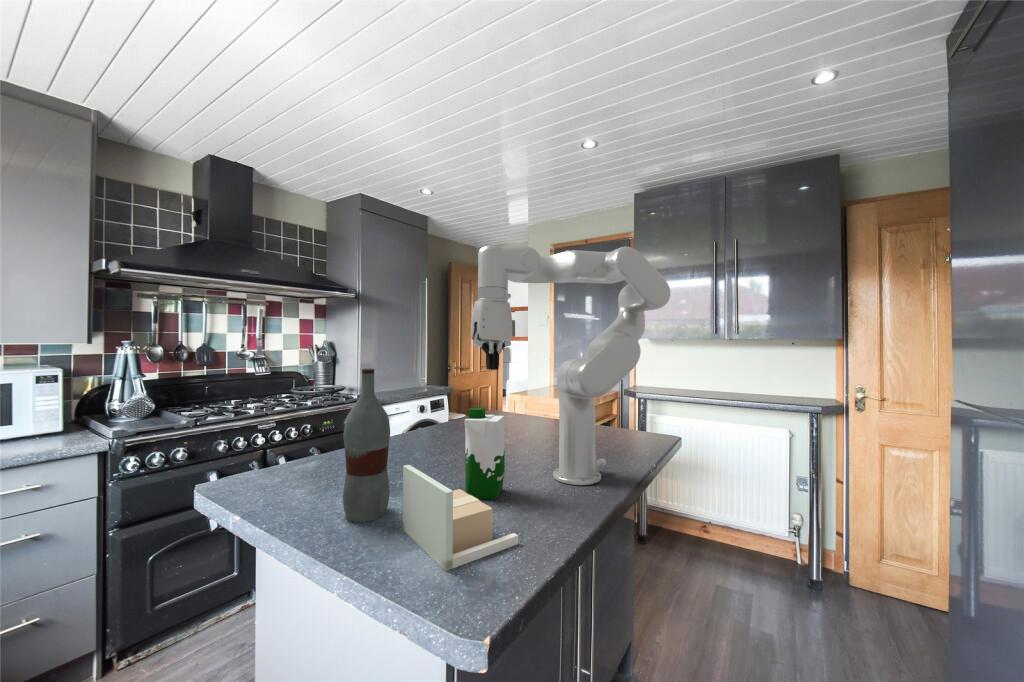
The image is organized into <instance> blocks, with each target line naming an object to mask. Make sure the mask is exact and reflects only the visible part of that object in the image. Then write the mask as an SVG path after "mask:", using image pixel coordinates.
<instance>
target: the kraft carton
mask: <svg viewBox="0 0 1024 682" xmlns="http://www.w3.org/2000/svg"><path fill="white" fill-rule="evenodd" d="M452 491H453V554H455V553H458V552H461V551H464V550H467V549H469V548H472V547H475V546H478V545H481V544H484V543H487V542H489V541H492V540H493V525H494V524H493V520H494V519H493V515H494V514H493V513H494V512H493V507H491V506H489V505H487V504H485V503H484V502H482V501H481V499H479V498H475V497H473V496H472V495H469V494H467V493H466V491H464V490H462V489H460V488H459V489H454V490H452Z"/></svg>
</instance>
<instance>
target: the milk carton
mask: <svg viewBox="0 0 1024 682" xmlns="http://www.w3.org/2000/svg"><path fill="white" fill-rule="evenodd" d="M467 410H468V411H467V413H468V414H467V415H468V416H467V418H466V417H465V419H464V430H465V431H464V433H465V448H464V449H465V452H464V453H465V457H464V458H465V459H464V462H465V465H464V468H465V469H464V472H465V473H464V475H465V477H464V479H465V492H466V493H467V494H469V495H472V496H473V497H475V498H477V499H478V500H490V501H491V500H493V501H496V500H497V498H498V496H499V495H500V494H501V492H502V491H503V489H504V488H503V487H504V480H505V471H506V470H505V467H506V466H505V465H506V463H505V462H506V461H505V460H506V459H505V457H506V456H505V455H506V454H505V452H506V451H505V448H506V446H505V445H506V444H505V443H506V435H505V434H506V433H505V431H506V430H505V426H506V425H505V415H495V414H486V408H485V407H479V406H477V407H469V408H467Z"/></svg>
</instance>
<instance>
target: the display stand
mask: <svg viewBox="0 0 1024 682" xmlns="http://www.w3.org/2000/svg"><path fill="white" fill-rule="evenodd" d="M453 491H454V490H452V489H450V488H449V487H447V486H445V485H444V484H442V483H440V482H439V481H437V480H435V479H434V478H432V477H430V476H429V475H427V474H425V473H424V472H423V471H421V470H419V469H417V468H415V467H413V466H412V465H411V464H405V465H403V467H402V530H403V531H404V533H406V535H408V536H409V537H410V538H411V539H412V540H413V541H414V542H415V543H416V545H418V546H419V547H420V548H421V549H422V551H424V552H425V553H426V554H427V555H428V556H430V558H431V559H432V560H433V561H434V562H435V563H436V564H438V565H439V567H441V568H442V570H444V571H445V572H448V571H450V570H453V569H455V568H458V567H460V566H463V565H466V564H468V563H471V562H473V561H476V560H479V559H482V558H484V557H487V556H490V555H493V554H495V553H498V552H501V551H503V550H505V549H509V548H511V547H514V546H517V545H519V534H516V533H515V532H513V533H510V534H507V535H503V536H502V537H498V538H496V539H492V541H489V542H487V543H484V544H481V545H478V546H475V547H472V548H469V549H467V550H464V551H461V552H458V553H455V554H453Z"/></svg>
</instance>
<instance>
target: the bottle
mask: <svg viewBox="0 0 1024 682" xmlns="http://www.w3.org/2000/svg"><path fill="white" fill-rule="evenodd" d="M375 370H376V369H375V368H369V367H368V368H361V391H360V392H361V393H360V396H359V397H358V399H357V400H356V401H355V403H354V405H353V407H352V408H351V409H350V412H348V414H347V416H346V418H345V422H344V427H343V443H344V444H343V445H344V454H345V455H344V456H345V458H344V459H345V478H344V483H343V491H342V503H343V504H342V505H343V511H344V515H345V518H346V519H347V520H348V521H350V522H354V523H366V522H371V521H375V520H378V519H380V518H382V517H384V516H385V515H386V514H387V510H388V507H389V502H390V501H389V500H390V493H391V491H390V483H389V481H390V479H389V474H388V457H389V448H390V439H391V425H390V424H391V423H390V419H389V415H388V413H387V411H386V409H385V408H384V407H383V405H382V404H381V402H380V401H379V399H378V398H377V396H376V395H375V394H376V393H375Z"/></svg>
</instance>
